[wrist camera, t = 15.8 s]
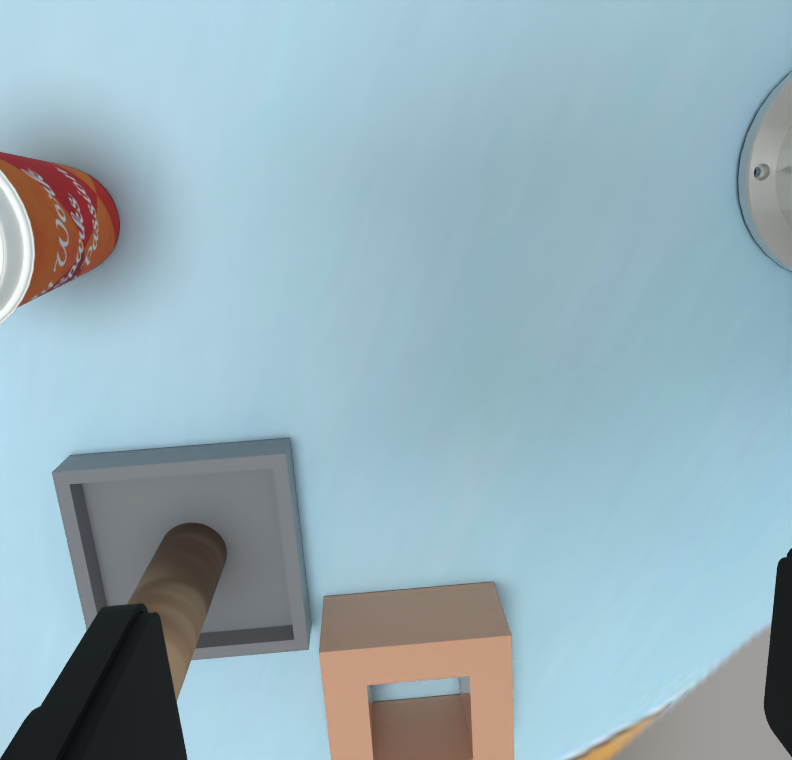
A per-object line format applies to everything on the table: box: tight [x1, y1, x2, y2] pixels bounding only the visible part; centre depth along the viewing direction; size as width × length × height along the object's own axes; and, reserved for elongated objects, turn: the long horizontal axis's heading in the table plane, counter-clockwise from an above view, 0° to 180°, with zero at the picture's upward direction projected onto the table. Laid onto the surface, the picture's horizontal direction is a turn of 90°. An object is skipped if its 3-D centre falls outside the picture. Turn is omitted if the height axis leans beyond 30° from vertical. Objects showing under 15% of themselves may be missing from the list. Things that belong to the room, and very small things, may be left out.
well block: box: [319, 582, 514, 760], centre depth 43 cm, size 11×11×6 cm
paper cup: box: [0, 152, 119, 324], centre depth 30 cm, size 8×8×14 cm
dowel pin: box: [127, 523, 227, 702], centre depth 36 cm, size 4×4×12 cm
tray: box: [52, 438, 311, 660], centre depth 42 cm, size 13×13×2 cm
